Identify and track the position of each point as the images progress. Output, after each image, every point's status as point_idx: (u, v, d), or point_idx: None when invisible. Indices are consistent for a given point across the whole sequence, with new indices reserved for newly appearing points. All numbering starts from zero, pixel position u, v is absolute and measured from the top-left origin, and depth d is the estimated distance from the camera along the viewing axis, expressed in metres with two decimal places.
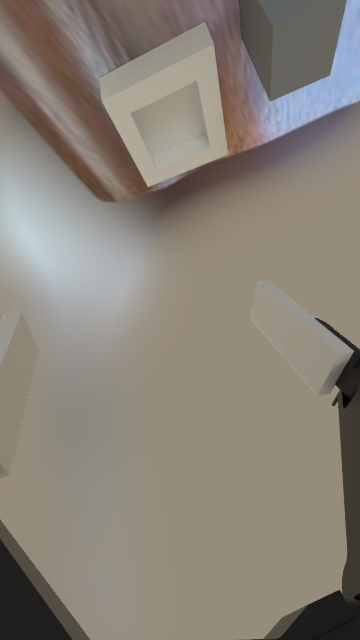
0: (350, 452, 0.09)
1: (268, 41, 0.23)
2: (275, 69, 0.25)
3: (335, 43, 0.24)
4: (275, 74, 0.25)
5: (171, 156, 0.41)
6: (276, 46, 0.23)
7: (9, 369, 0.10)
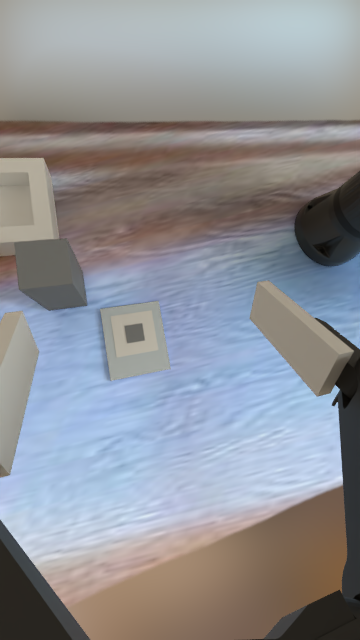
0: (350, 452, 0.09)
1: None
2: (39, 243, 0.31)
3: (42, 286, 0.31)
4: (35, 243, 0.31)
5: None
6: (54, 242, 0.32)
7: (9, 369, 0.10)
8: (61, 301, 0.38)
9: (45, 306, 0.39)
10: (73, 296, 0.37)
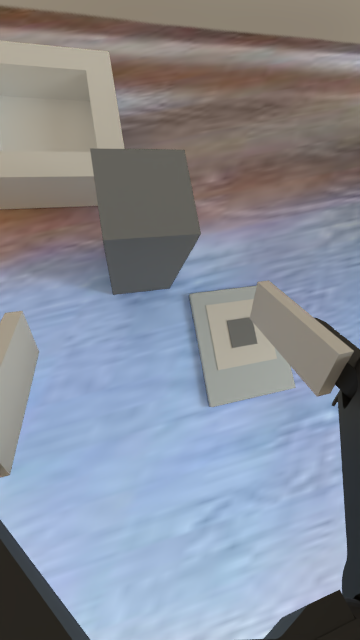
0: (350, 452, 0.09)
1: None
2: (136, 154, 0.16)
3: (147, 235, 0.15)
4: (129, 155, 0.16)
5: None
6: (164, 154, 0.17)
7: (9, 369, 0.10)
8: (145, 276, 0.22)
9: (114, 286, 0.24)
10: (170, 268, 0.22)
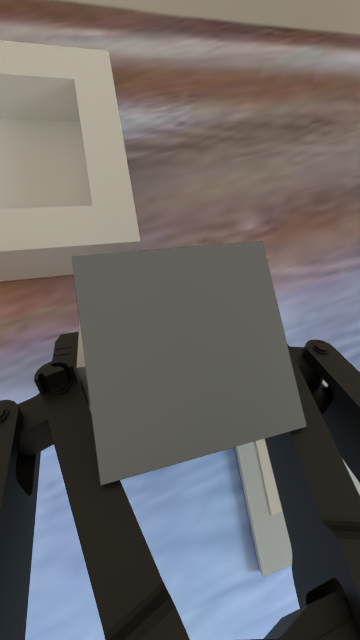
0: (272, 441, 0.09)
1: None
2: (170, 261, 0.08)
3: (199, 451, 0.07)
4: (156, 263, 0.08)
5: None
6: (224, 255, 0.08)
7: None
8: None
9: None
10: None
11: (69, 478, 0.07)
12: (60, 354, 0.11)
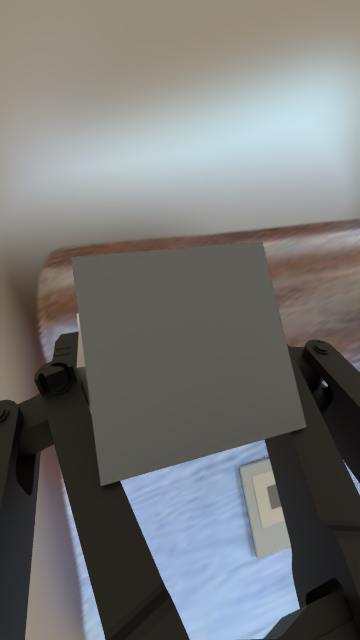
0: (272, 441, 0.09)
1: None
2: (170, 261, 0.08)
3: (199, 452, 0.07)
4: (156, 263, 0.08)
5: None
6: (224, 256, 0.08)
7: None
8: None
9: None
10: None
11: (69, 478, 0.07)
12: (60, 354, 0.11)
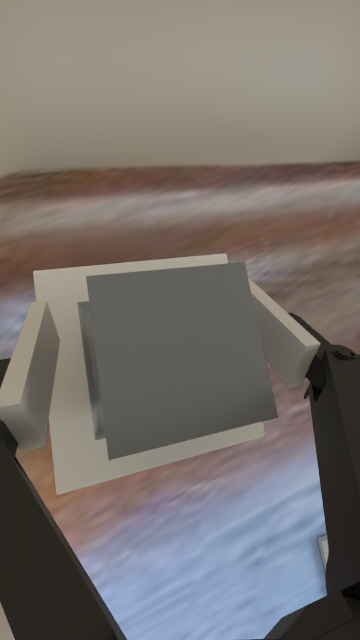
0: (324, 445, 0.09)
1: None
2: (166, 279, 0.09)
3: (188, 435, 0.09)
4: (155, 281, 0.09)
5: (85, 346, 0.18)
6: (212, 274, 0.10)
7: (40, 352, 0.11)
8: None
9: None
10: None
11: None
12: None
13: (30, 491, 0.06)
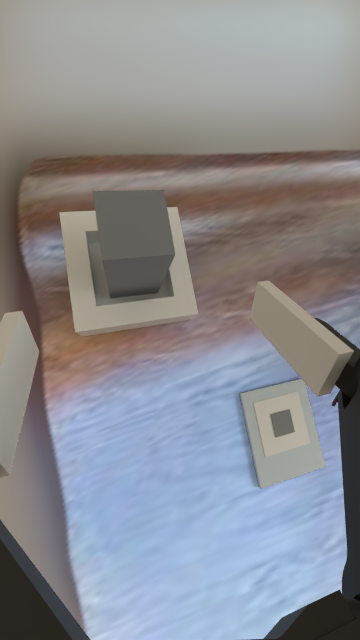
0: (350, 452, 0.09)
1: None
2: (127, 195, 0.22)
3: (134, 256, 0.21)
4: (122, 195, 0.21)
5: (90, 259, 0.30)
6: (148, 194, 0.22)
7: (9, 369, 0.10)
8: (136, 284, 0.28)
9: (111, 291, 0.29)
10: (155, 278, 0.27)
11: None
12: None
13: None
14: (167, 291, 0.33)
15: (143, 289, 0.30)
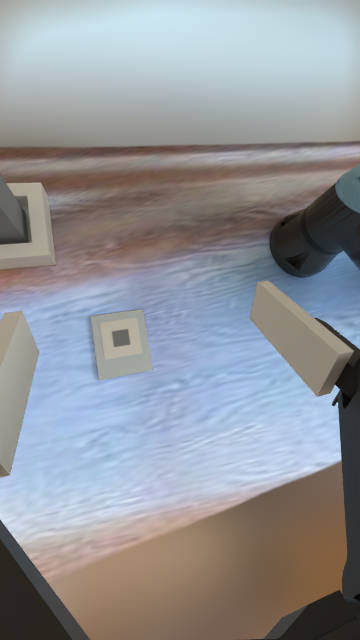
0: (350, 452, 0.09)
1: None
2: None
3: None
4: None
5: None
6: None
7: (9, 369, 0.10)
8: None
9: None
10: (8, 226, 0.41)
11: None
12: None
13: None
14: None
15: (10, 237, 0.44)
